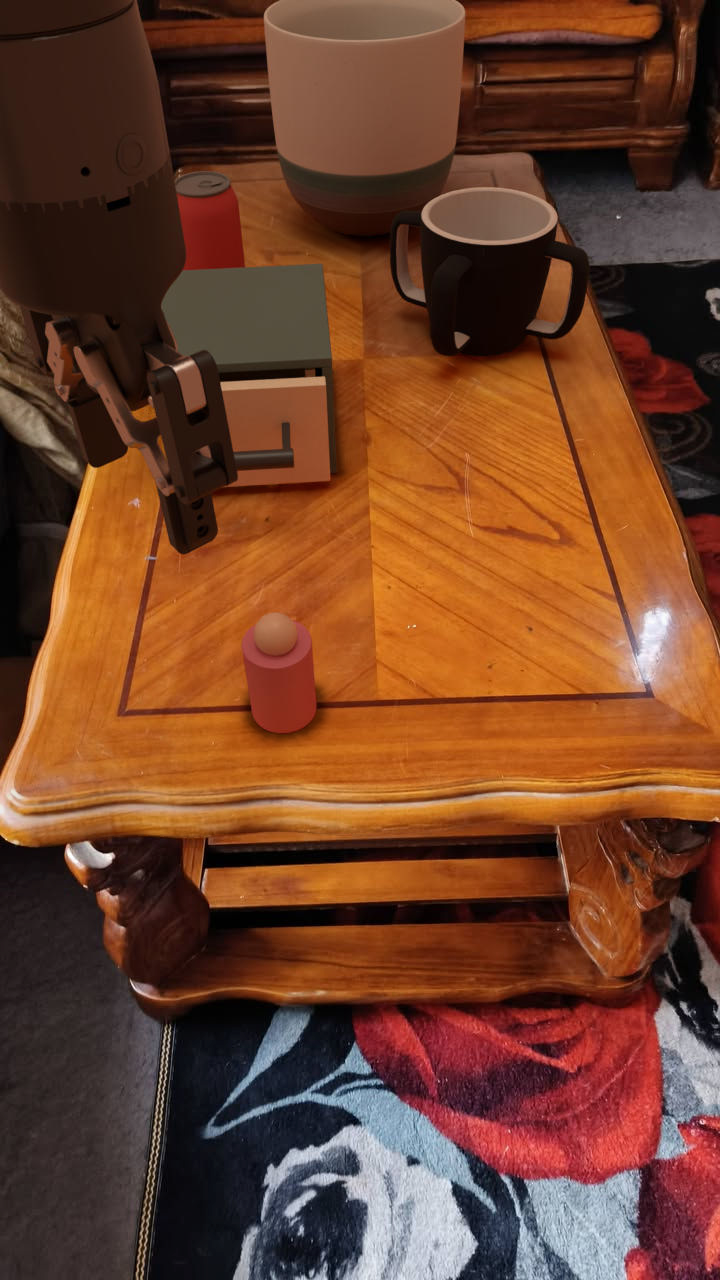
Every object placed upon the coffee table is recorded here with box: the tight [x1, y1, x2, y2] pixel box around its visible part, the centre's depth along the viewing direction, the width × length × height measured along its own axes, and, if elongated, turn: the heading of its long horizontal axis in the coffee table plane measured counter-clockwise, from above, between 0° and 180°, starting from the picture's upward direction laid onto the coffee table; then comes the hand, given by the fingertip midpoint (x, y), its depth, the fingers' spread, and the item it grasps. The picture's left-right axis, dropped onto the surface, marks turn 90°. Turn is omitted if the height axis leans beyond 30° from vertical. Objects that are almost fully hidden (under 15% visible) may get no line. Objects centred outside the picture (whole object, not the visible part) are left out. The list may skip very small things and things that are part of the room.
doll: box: [241, 611, 318, 734], centre depth 59 cm, size 4×4×8 cm
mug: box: [389, 186, 591, 358], centre depth 89 cm, size 16×16×12 cm
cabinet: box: [161, 263, 338, 474], centre depth 80 cm, size 16×14×11 cm
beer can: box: [174, 170, 246, 270], centre depth 95 cm, size 7×7×12 cm
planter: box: [263, 0, 466, 237], centre depth 104 cm, size 20×20×21 cm
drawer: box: [207, 368, 332, 488], centre depth 77 cm, size 19×12×9 cm, turn 4°
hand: (149, 499), depth 47 cm, fingers open, 8 cm apart
